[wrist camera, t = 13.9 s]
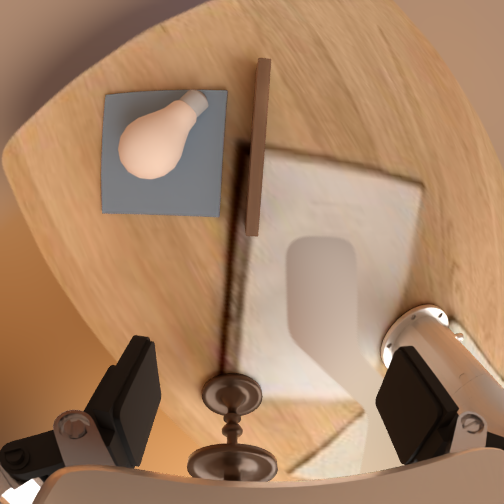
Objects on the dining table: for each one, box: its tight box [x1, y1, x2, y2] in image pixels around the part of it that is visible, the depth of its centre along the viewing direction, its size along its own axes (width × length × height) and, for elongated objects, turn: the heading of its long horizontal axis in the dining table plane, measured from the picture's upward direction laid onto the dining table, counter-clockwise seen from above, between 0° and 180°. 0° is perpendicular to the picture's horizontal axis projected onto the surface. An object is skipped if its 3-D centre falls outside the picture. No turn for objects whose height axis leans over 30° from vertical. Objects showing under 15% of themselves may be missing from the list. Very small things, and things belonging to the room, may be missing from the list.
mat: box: [101, 90, 227, 217], centre depth 30 cm, size 14×14×1 cm
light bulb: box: [118, 89, 208, 179], centre depth 27 cm, size 7×7×11 cm
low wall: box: [245, 58, 271, 236], centre depth 29 cm, size 1×18×4 cm, turn 176°
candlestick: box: [187, 373, 278, 482], centre depth 26 cm, size 11×11×35 cm
